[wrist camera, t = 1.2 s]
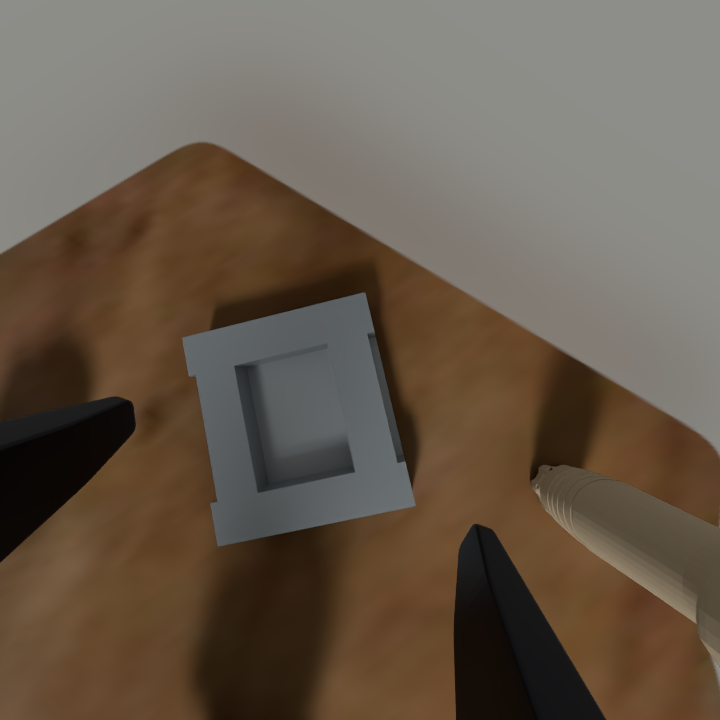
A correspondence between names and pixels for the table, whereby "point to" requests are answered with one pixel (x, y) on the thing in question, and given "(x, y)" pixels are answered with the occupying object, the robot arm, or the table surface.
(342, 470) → the block
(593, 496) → the handle
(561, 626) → the table surface
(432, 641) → the table surface
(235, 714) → the table surface
